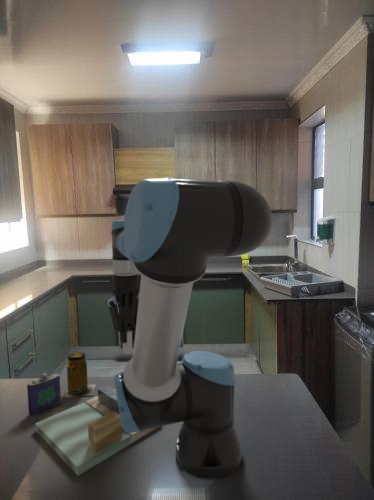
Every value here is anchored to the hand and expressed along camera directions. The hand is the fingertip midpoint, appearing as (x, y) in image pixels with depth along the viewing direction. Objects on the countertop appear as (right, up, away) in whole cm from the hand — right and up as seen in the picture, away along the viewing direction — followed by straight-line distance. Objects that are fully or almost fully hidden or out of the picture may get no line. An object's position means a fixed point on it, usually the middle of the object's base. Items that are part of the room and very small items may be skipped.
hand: (127, 351), depth 98 cm
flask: (-23, -16, -3) cm, 28 cm away
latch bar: (-1, -13, -7) cm, 15 cm away
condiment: (-16, -15, +7) cm, 23 cm away
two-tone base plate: (-5, -16, -12) cm, 21 cm away
